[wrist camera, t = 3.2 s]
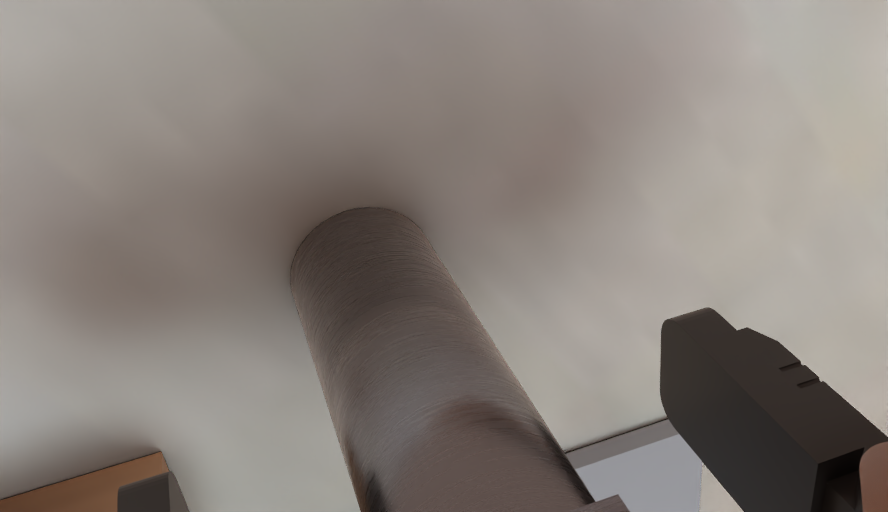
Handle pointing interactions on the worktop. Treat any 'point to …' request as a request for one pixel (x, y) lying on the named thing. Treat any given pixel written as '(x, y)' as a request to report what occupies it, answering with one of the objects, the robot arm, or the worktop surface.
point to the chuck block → (87, 489)
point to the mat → (643, 470)
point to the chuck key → (421, 380)
